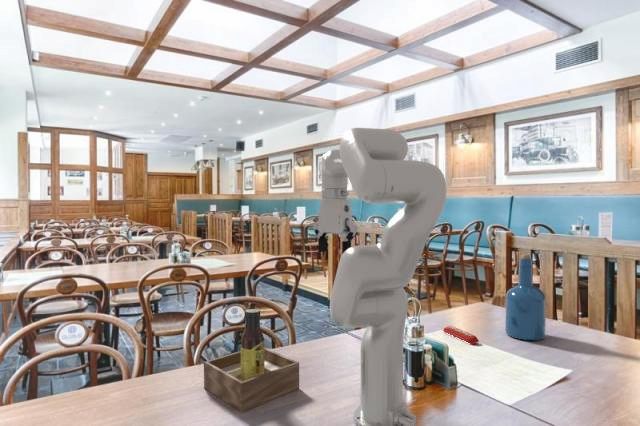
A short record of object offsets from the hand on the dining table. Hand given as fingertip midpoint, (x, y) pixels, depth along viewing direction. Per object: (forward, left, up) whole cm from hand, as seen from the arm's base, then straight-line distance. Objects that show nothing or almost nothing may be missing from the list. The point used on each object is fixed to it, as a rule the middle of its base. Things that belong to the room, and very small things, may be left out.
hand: (334, 253), depth 123 cm
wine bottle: (-29, -70, -35) cm, 84 cm away
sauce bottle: (+5, +26, -34) cm, 43 cm away
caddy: (+6, +26, -34) cm, 43 cm away
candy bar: (-13, -51, -35) cm, 64 cm away
